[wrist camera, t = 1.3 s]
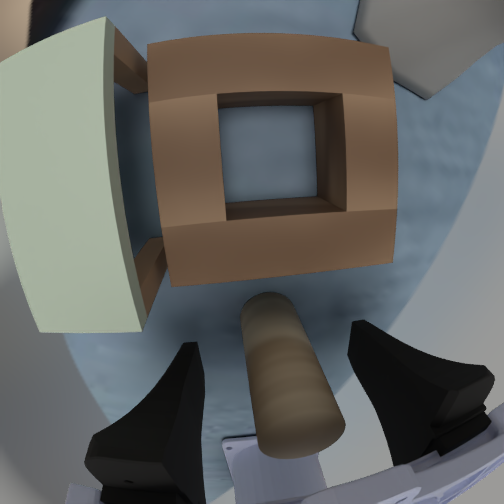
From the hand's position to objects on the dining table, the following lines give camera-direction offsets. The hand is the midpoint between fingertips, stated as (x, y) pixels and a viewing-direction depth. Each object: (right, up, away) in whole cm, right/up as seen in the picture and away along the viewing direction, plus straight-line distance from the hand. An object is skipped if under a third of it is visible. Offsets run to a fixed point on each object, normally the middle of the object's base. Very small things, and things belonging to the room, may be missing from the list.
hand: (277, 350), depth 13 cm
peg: (0, +1, +3) cm, 3 cm away
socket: (0, +9, 0) cm, 9 cm away
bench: (-7, +8, 0) cm, 11 cm away
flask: (+8, +16, -1) cm, 18 cm away
